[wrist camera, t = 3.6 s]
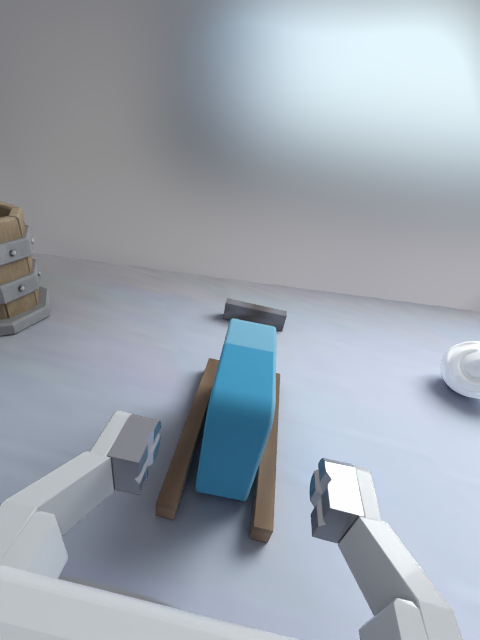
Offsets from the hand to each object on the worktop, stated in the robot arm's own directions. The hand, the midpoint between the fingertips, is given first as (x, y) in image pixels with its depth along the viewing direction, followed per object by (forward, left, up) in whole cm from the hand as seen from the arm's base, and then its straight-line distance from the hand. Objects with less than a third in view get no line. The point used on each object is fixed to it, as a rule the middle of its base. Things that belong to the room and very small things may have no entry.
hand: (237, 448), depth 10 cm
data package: (0, +13, -18) cm, 22 cm away
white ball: (+32, +31, -18) cm, 48 cm away
